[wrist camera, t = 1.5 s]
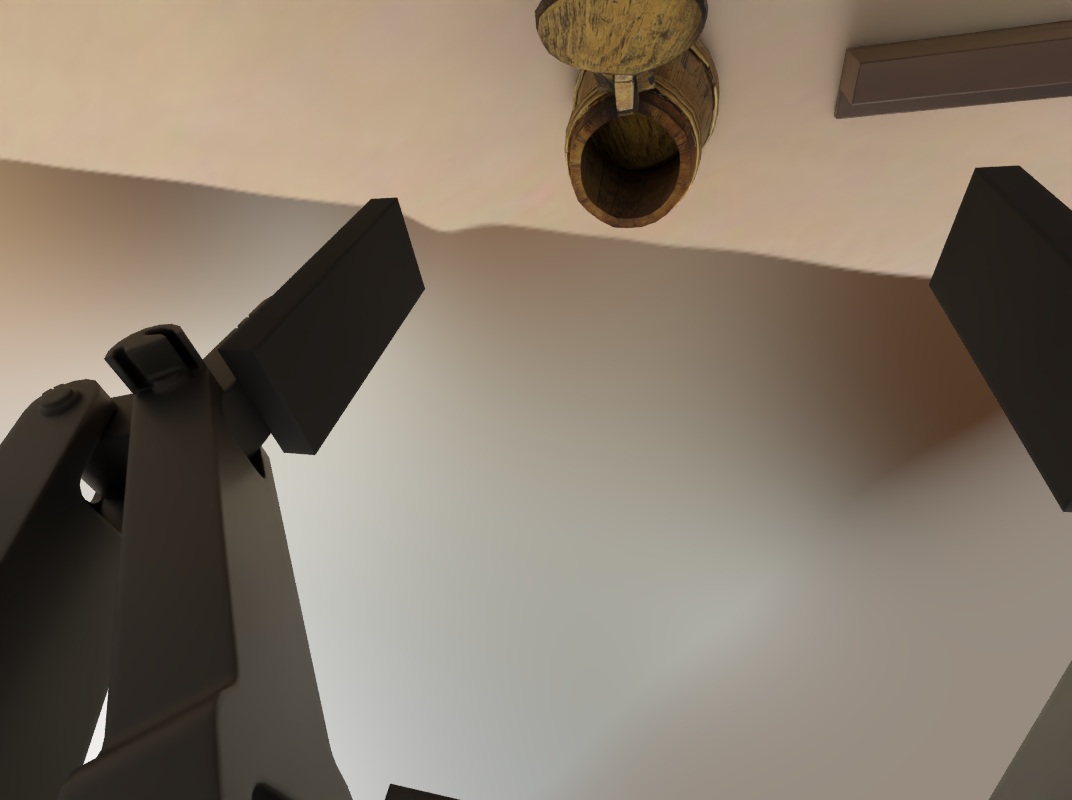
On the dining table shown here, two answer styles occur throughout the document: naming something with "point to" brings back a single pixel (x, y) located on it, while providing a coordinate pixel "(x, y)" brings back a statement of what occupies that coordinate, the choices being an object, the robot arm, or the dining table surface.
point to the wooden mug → (633, 101)
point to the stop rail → (957, 71)
